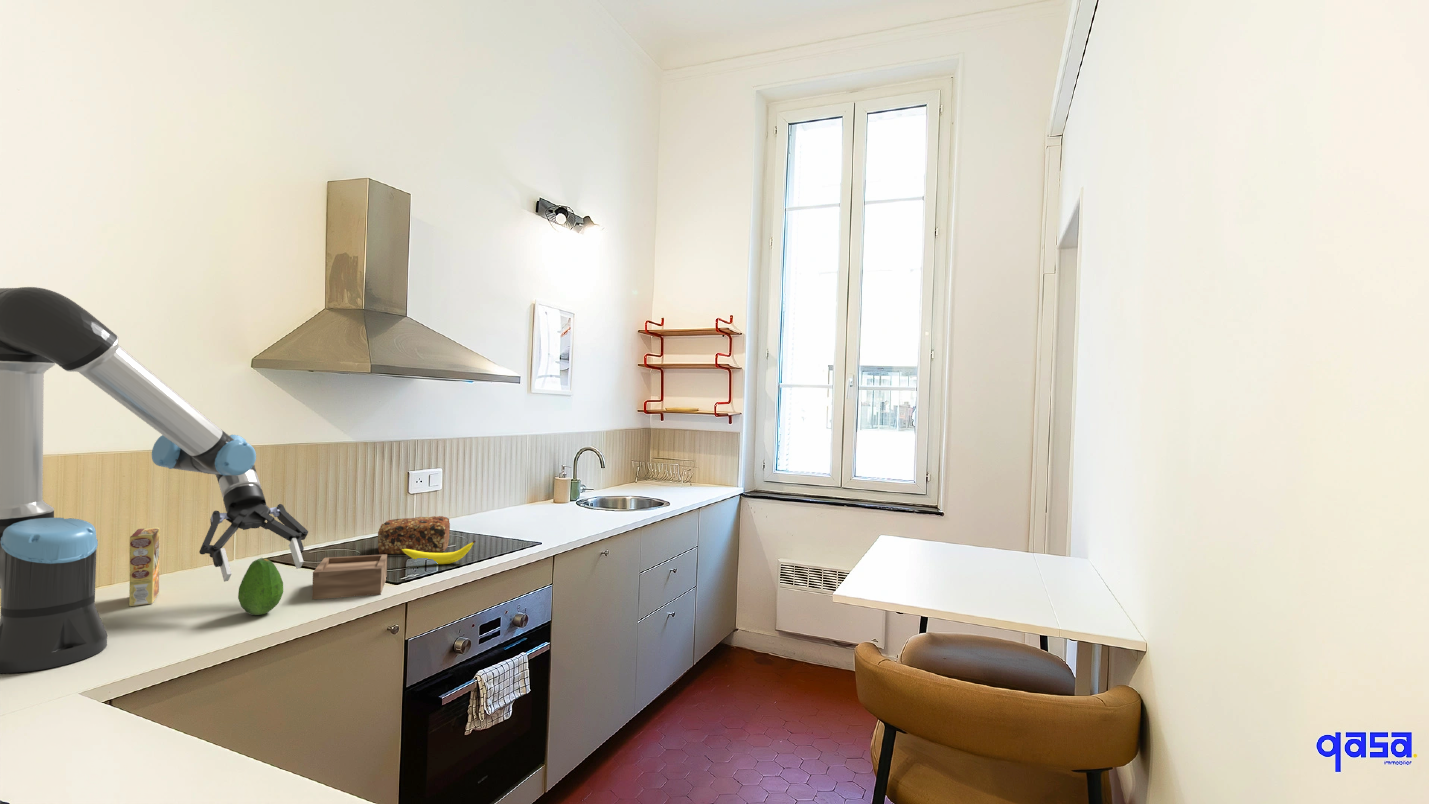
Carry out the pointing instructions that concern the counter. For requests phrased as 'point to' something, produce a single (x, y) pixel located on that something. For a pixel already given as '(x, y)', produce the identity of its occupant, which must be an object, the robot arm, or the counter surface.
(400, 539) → the bread
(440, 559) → the banana
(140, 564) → the candy box
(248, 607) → the avocado
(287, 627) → the counter surface
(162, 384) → the robot arm
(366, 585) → the walnut wooden box
